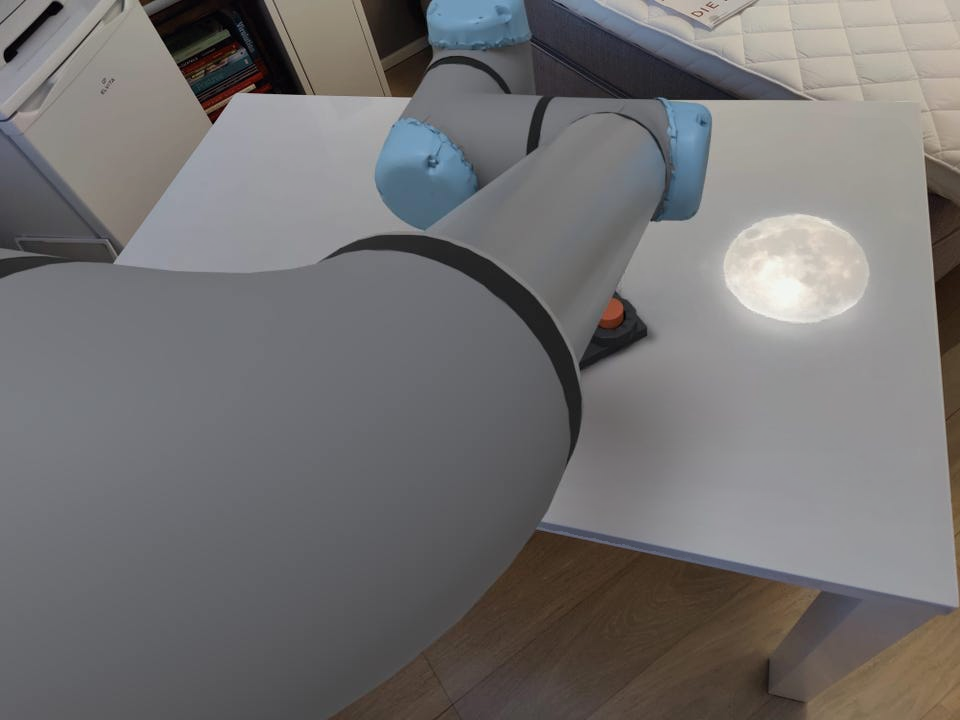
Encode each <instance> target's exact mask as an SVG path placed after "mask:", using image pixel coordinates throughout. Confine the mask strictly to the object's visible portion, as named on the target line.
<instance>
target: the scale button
mask: <svg viewBox="0 0 960 720" xmlns="http://www.w3.org/2000/svg"><path fill="white" fill-rule="evenodd" d="M622 321H623V305H622V303H621V302H620V301H619V300H617V299H615V298H611V300H610V302H609V304H608V306H607V308H606V310H605V312H604V314H603V316H602V318H601V320H600V322H599V324H598V326H600V327H601V328H604V329H613V328H616V327H618V326H619V325H620V324H621V323H622Z"/></svg>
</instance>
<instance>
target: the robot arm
mask: <svg viewBox="0 0 960 720" xmlns="http://www.w3.org/2000/svg"><path fill="white" fill-rule="evenodd" d="M527 15H528V14H527V11H526V5H525V1H524V0H431V1H430V2H429V5H428V7H427V9H426V22H427V31H428V37H427V41H428V43H429V45H431V48H432V59H431V61H430V63H429V64H428V66H427V67H426V69H425V71H424V73H423V75H422V77H421V81H420V84H419V85H418V88H417V89H416V91H415V93H414V94H413V95H412V97H411V99H410V100H409V101H408V103H407V105H406V106H405V108H404V109H403V111H402V112H401V114H400V116H399V117H398V119H397V120H396V121H395V122H394V123H393V124H392V126H391V127H390V129H389V132H388V135H387V137H386V139H385V141H384V143H383V145H382V147H381V150H380V152H379V155H378V158H377V160H376V163H375V167H374V183H375V187H376V189H377V192H378V193H379V197H380V199H381V200H382V202H383V204H384V205H385V206H386V207H387V208H388V210H390V212H391V213H392V214H393V215H395V217H397V218H398V219H399V220H400V221H402V222H403V223H405V224H407V225H409V226H410V227H413V228H416V229H417V230H421V231H414V230H393V231H387V232H379V233H373V234H370V235H368V236H367V235H366V236H364V237H361V238H358V239H356V240H354V241H352V242H350V243H347V244H346V245H343V246H342V247H339V248H338V249H337V250H334V251H333V252H332V253H330V254H329V255H327V256H326V257H324V258H322V259H321V260H318V262H316V263H313V264H309V265H308V264H307V265H303V266H299V267H294V268H287V269H275V270H266V271H256V272H255V271H254V272H225V271H224V272H223V271H222V272H221V271H220V272H219V271H182V270H181V271H180V270H179V271H178V270H172V269H171V270H170V269H160V268H152V267H143V266H136V265H135V266H134V265H127V264H126V265H124V264H117V263H109V262H94V261H86V260H81V259H76V258H71V257H70V258H69V257H64V256H56V255H49V254H42V253H35V252H31V251H30V252H29V251H24V250H23V251H22V250H15V249H10V248H3V247H0V720H329V719H330V718H332V717H333V716H335V715H336V714H338V713H339V712H341V711H342V710H344V709H346V708H347V707H348V706H350V705H352V704H353V703H355V702H356V701H358V700H359V699H361V698H363V697H364V696H365V695H367V694H368V693H370V692H371V691H373V690H375V689H376V688H378V687H379V686H381V685H382V684H384V683H385V682H387V681H388V680H390V679H391V678H393V677H394V676H395V675H396V674H397V673H398V672H400V671H401V670H402V669H403V668H405V667H406V666H407V665H408V664H409V663H410V662H412V661H413V660H415V659H416V658H417V657H418V656H419V655H421V653H423V652H424V651H425V650H426V649H427V648H429V646H431V645H432V644H434V643H435V642H436V641H437V640H438V639H440V637H442V636H443V635H444V634H446V633H447V632H448V631H449V630H450V629H452V628H453V627H454V626H455V625H456V624H457V623H459V622H460V621H461V620H462V619H463V617H464V616H466V615H467V614H468V612H469V611H470V610H471V609H472V608H473V607H474V606H475V605H476V604H477V602H478V601H479V600H480V599H481V598H482V597H483V596H484V595H485V594H486V592H487V591H488V590H490V588H491V587H492V586H493V585H494V584H495V583H496V582H497V581H498V579H499V578H500V577H501V576H503V575H504V573H505V572H506V571H507V570H508V569H509V568H510V566H511V565H512V563H513V562H514V561H515V559H516V558H517V556H518V555H519V553H520V552H521V551H522V550H523V549H524V547H525V545H527V543H528V542H529V540H530V539H531V538H532V536H533V534H534V533H535V531H536V530H537V528H538V527H539V525H540V524H541V522H542V521H543V519H544V518H545V516H546V514H547V513H548V511H549V509H550V507H551V504H552V502H553V500H554V498H555V495H556V493H557V491H558V488H559V485H560V483H561V481H562V479H563V477H564V474H565V472H566V470H567V467H568V465H569V462H570V461H571V459H572V457H573V455H574V452H575V450H576V447H577V444H578V442H579V441H578V440H579V437H580V434H581V429H582V426H583V418H584V409H585V400H584V399H585V398H584V385H583V380H582V375H581V370H580V369H579V365H578V364H579V362H580V360H581V358H582V356H583V354H584V352H585V350H586V348H587V346H588V344H589V342H590V340H591V338H592V336H593V334H594V332H595V330H596V328H597V326H598V324H599V322H600V320H601V318H602V316H603V314H604V312H605V310H606V308H607V306H608V304H609V302H610V300H611V298H612V296H613V294H614V292H615V291H617V288H618V286H619V284H620V281H621V280H622V277H623V276H624V274H625V272H626V269H627V268H628V265H629V264H630V261H631V260H632V257H633V255H634V254H635V252H636V249H637V248H638V246H639V244H640V242H641V239H642V237H643V235H644V233H645V232H646V229H647V227H648V225H649V223H651V222H654V223H659V222H662V221H665V222H666V221H667V222H670V221H672V222H683V221H688V220H691V219H692V218H694V217H695V216H696V215H697V213H698V212H699V210H700V206H701V202H702V199H703V193H704V188H705V183H706V177H707V170H708V163H709V157H710V149H711V143H712V142H711V141H712V131H713V117H712V114H711V111H710V110H709V108H708V107H707V106H705V105H703V104H702V103H698V102H688V101H679V100H678V101H677V100H676V101H675V100H668V99H667V98H665V97H654V98H653V99H648V98H647V99H643V98H641V99H640V98H608V97H607V98H603V97H602V98H601V97H574V96H573V97H572V96H571V97H568V96H555V95H537V91H536V82H535V72H534V66H533V65H534V62H533V53H532V44H531V43H532V42H531V39H532V38H533V37H532V36H533V35H532V32H531V30H530V25H529V20H528V16H527Z"/></svg>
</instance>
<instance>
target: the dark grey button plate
mask: <svg viewBox="0 0 960 720" xmlns="http://www.w3.org/2000/svg"><path fill="white" fill-rule="evenodd" d="M612 298H615V299H617V300H619V301H620V302H621V303H622V305H623V321H622V323H621V324H620V325H619V326H618V327H616V328H613V329H604V328H601V327H600V326H597V328H596V330H595V332H594V334H593V336H592V338H591V340H590V342H589V344H588V346H587V348H586V350H585V352H584V354H583V356H582V358H581V360H580V362H579V364H578V365H579V369H580V371H582V370H584V369H586V368H588V367H590V366H592V365H594V364H596V363H598V362H600V361H602V360H603V359H605V358H607V357H609V356H611V355H613V354H615V353H616V352H619V351H620V350H623V349H624V348H626V347H628V346H630V345H633V344H634V343H636V342H638V341H640V340H642V339H643V338H646V337H647V336H648V326H647V324H646V323H644V321H643V320H642V319H641V317H640V316H638V314H637V309H636V308H635V307H634V305H633V304H632V303H631V302H630V300H628V299H626V298H623V297H622V296H621V295H620V294H619V293H618V292H617V290H615V292H614V294H613V296H612Z"/></svg>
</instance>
